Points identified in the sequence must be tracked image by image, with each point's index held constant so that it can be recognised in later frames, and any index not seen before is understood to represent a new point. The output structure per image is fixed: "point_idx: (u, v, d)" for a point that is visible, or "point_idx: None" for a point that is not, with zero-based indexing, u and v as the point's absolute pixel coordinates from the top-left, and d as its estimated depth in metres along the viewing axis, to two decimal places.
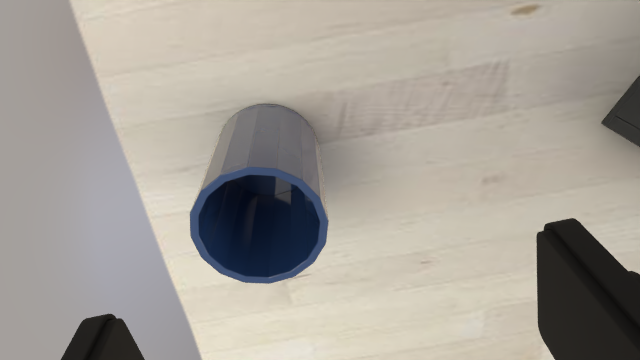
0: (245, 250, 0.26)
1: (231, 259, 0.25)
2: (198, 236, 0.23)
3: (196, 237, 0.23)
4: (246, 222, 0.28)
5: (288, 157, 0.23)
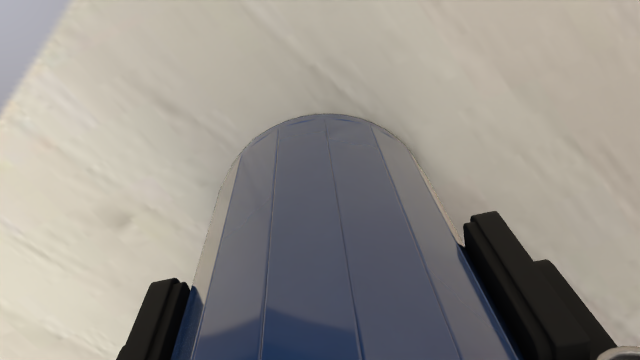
0: None
1: None
2: None
3: None
4: None
5: None
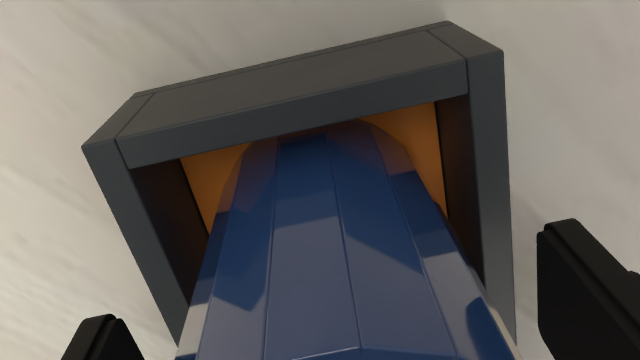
0: None
1: None
2: None
3: None
4: None
5: None
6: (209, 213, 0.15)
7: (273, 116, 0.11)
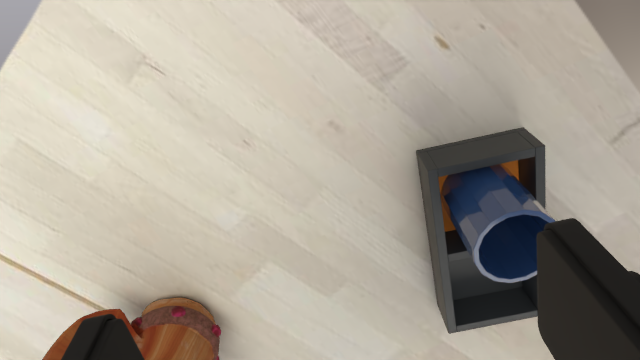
0: None
1: None
2: (492, 224, 0.35)
3: (492, 225, 0.35)
4: None
5: None
6: None
7: (481, 162, 0.39)
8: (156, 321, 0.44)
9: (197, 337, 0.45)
